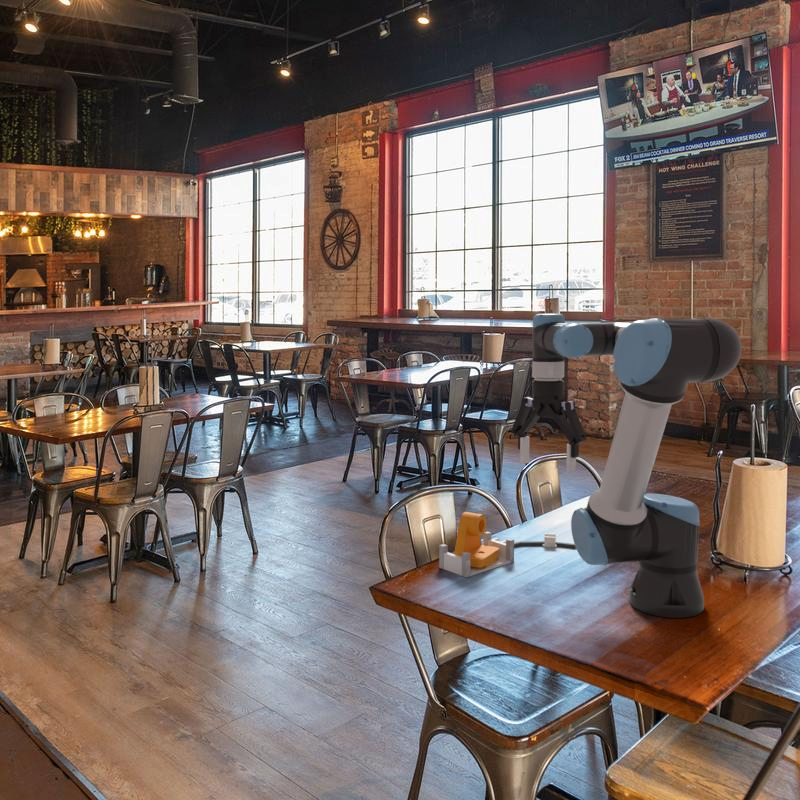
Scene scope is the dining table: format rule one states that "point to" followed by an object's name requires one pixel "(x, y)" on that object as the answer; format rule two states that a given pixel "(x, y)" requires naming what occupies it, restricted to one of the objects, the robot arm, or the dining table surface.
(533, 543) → the cable route
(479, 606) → the dining table surface
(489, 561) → the bracket
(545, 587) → the dining table surface
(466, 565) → the holder
